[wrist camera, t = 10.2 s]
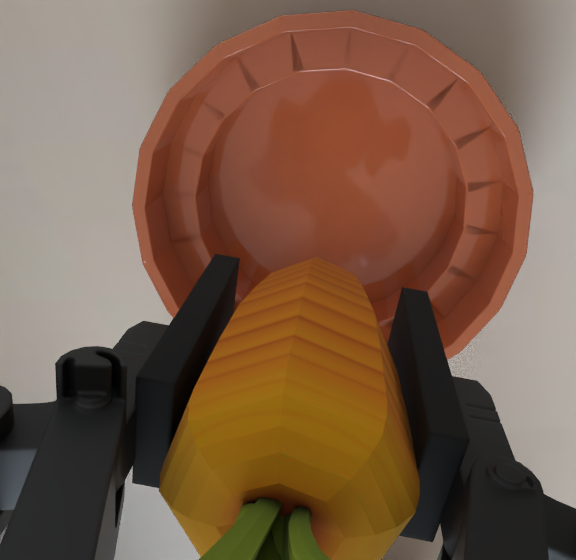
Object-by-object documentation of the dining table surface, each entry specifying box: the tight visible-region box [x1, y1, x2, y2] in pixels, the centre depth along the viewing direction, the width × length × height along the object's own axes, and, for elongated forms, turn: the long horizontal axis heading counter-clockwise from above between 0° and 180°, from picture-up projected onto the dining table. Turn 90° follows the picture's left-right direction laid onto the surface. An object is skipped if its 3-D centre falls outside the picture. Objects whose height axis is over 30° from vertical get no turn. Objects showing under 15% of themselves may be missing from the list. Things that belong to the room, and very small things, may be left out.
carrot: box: [159, 257, 420, 560], centre depth 13 cm, size 5×5×15 cm
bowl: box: [132, 10, 533, 359], centre depth 27 cm, size 17×17×6 cm
